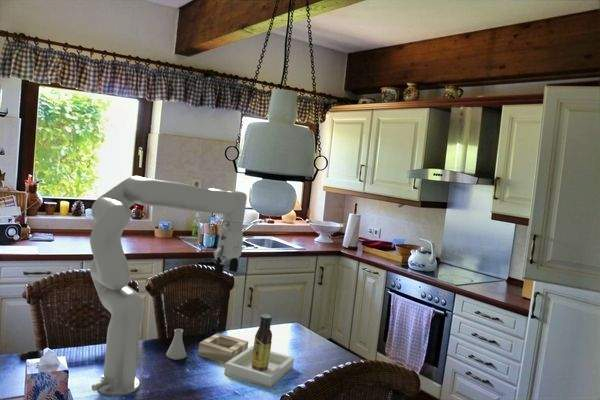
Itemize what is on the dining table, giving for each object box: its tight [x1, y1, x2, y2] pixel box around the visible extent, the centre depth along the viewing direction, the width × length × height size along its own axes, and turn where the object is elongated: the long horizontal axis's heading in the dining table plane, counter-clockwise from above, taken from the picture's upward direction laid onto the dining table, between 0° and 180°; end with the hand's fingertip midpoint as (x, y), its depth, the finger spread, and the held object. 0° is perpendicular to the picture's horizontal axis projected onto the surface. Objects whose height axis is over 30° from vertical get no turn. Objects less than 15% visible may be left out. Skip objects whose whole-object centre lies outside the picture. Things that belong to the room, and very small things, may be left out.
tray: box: [224, 345, 295, 389], centre depth 181 cm, size 20×18×4 cm
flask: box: [165, 328, 188, 360], centre depth 185 cm, size 7×7×10 cm
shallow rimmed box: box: [197, 332, 249, 364], centre depth 192 cm, size 13×14×5 cm
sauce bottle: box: [252, 313, 273, 371], centre depth 180 cm, size 7×6×20 cm
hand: (225, 273), depth 178 cm, fingers open, 9 cm apart
